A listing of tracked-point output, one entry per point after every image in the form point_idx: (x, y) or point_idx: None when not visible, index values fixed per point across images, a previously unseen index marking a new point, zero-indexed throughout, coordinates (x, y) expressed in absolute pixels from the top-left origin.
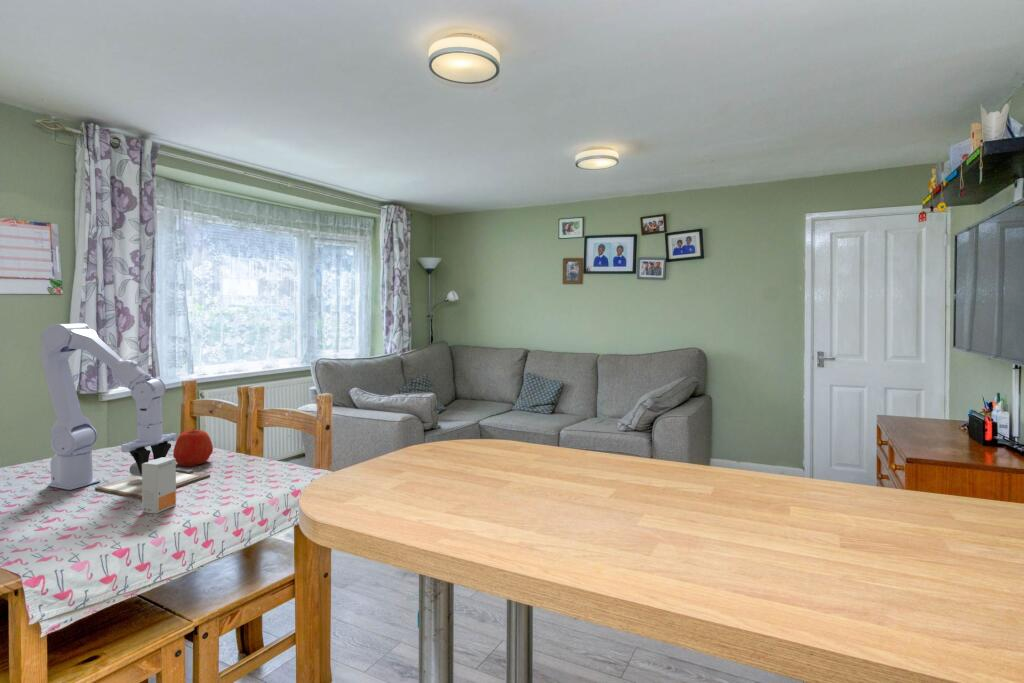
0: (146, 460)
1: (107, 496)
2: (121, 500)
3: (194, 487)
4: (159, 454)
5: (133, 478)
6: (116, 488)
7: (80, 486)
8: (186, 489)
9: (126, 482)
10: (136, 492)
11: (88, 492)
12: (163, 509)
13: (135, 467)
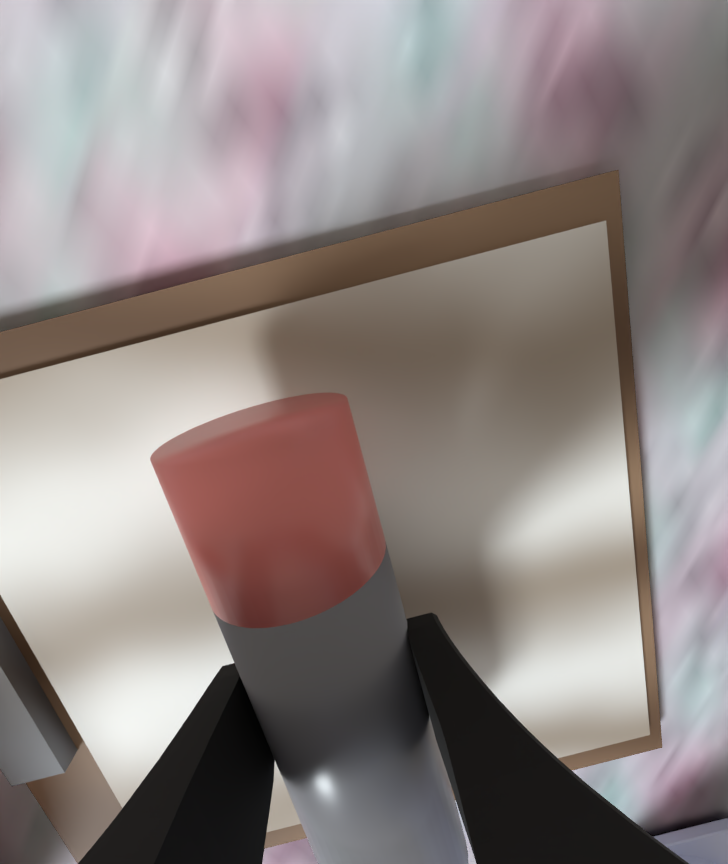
0: (499, 767)
1: (696, 523)
2: (710, 319)
3: (68, 117)
4: None
5: None
6: (610, 610)
7: (676, 836)
8: (165, 121)
9: None
10: (587, 357)
11: (699, 708)
12: None
13: (450, 834)
